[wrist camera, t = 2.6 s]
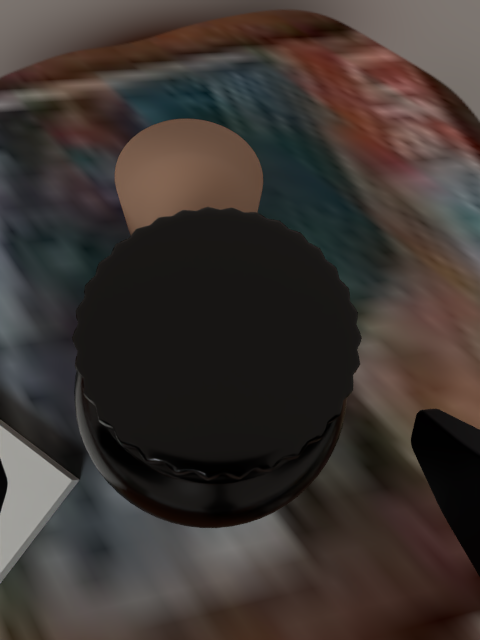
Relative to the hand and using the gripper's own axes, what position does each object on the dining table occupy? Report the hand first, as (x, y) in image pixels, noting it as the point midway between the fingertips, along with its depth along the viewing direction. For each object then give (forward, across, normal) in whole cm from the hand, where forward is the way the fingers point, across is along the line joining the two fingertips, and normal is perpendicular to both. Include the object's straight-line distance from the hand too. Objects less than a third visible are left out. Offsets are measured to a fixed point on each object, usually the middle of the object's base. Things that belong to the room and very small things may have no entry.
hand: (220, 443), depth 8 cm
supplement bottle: (+8, 0, +6) cm, 9 cm away
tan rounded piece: (+14, 0, -1) cm, 14 cm away
